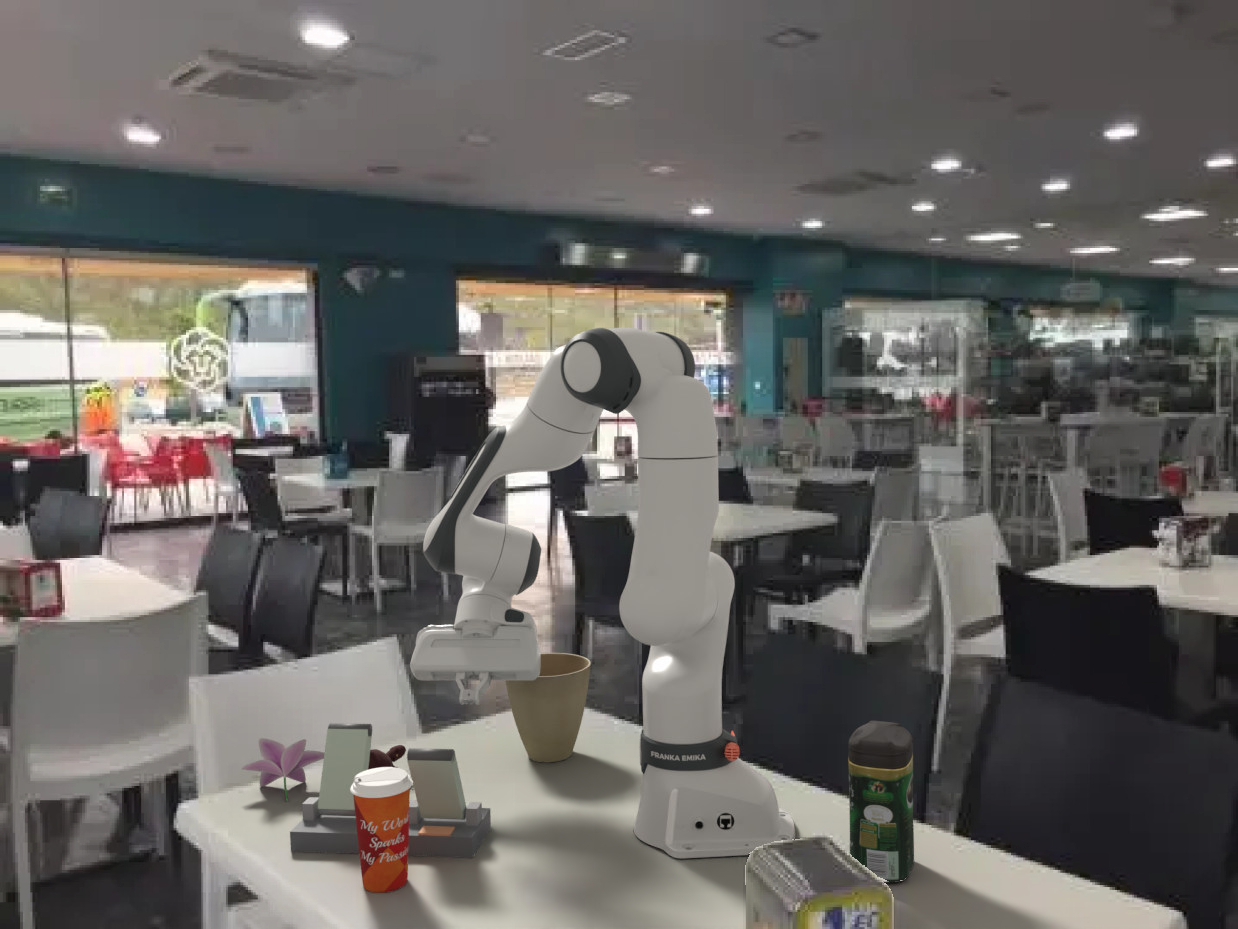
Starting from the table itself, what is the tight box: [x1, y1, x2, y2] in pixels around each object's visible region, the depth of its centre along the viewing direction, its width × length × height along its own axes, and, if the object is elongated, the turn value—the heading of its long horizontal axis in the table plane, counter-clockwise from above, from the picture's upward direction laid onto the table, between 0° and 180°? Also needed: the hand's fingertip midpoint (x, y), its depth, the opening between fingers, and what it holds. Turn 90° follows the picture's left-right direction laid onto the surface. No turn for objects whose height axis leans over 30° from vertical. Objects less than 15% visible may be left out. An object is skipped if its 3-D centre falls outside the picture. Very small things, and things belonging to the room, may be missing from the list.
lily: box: [241, 737, 325, 802], centre depth 168 cm, size 12×12×10 cm
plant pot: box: [504, 652, 592, 763], centre depth 182 cm, size 15×15×16 cm
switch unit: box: [289, 796, 492, 859], centre depth 150 cm, size 26×10×5 cm, turn 83°
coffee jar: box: [847, 720, 915, 883], centre depth 137 cm, size 10×8×19 cm
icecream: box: [368, 744, 407, 770], centre depth 168 cm, size 7×7×15 cm
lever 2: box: [406, 747, 467, 820], centre depth 146 cm, size 6×2×13 cm, turn 83°
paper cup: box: [350, 766, 413, 894], centre depth 137 cm, size 8×8×14 cm
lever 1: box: [318, 722, 373, 816], centre depth 153 cm, size 6×2×13 cm, turn 83°
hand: (469, 702), depth 163 cm, fingers closed
